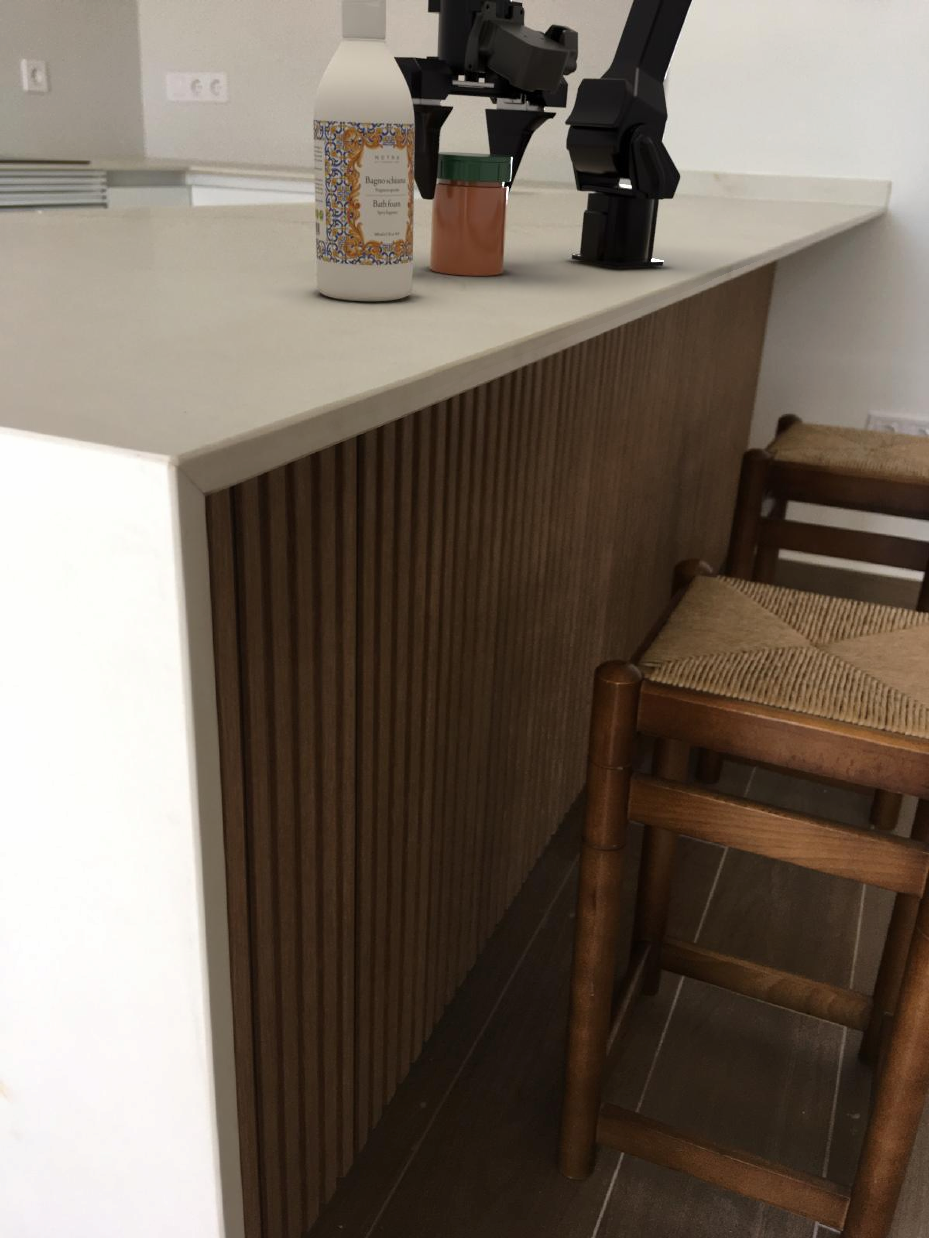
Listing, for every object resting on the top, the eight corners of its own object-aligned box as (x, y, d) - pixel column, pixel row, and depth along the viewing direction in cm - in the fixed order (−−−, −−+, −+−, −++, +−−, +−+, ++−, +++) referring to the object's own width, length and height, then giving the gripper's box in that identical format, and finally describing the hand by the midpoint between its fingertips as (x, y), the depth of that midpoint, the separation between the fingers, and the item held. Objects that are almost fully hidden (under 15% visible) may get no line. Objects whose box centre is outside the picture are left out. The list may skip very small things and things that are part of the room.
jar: (475, 264, 98) (480, 162, 94) (517, 274, 93) (525, 167, 89) (415, 266, 94) (418, 160, 90) (456, 277, 89) (462, 166, 86)
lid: (417, 175, 92) (418, 151, 91) (487, 177, 94) (488, 153, 94) (452, 181, 86) (453, 155, 85) (525, 183, 89) (527, 158, 88)
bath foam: (341, 305, 74) (337, -30, 66) (302, 289, 80) (293, -22, 71) (429, 299, 78) (436, -20, 69) (385, 285, 83) (386, -14, 74)
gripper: (471, -34, 73) (460, 210, 80) (629, -4, 86) (608, 205, 92) (361, -28, 80) (359, 197, 86) (522, -1, 92) (510, 193, 99)
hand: (466, 198), depth 91 cm, fingers open, 9 cm apart
